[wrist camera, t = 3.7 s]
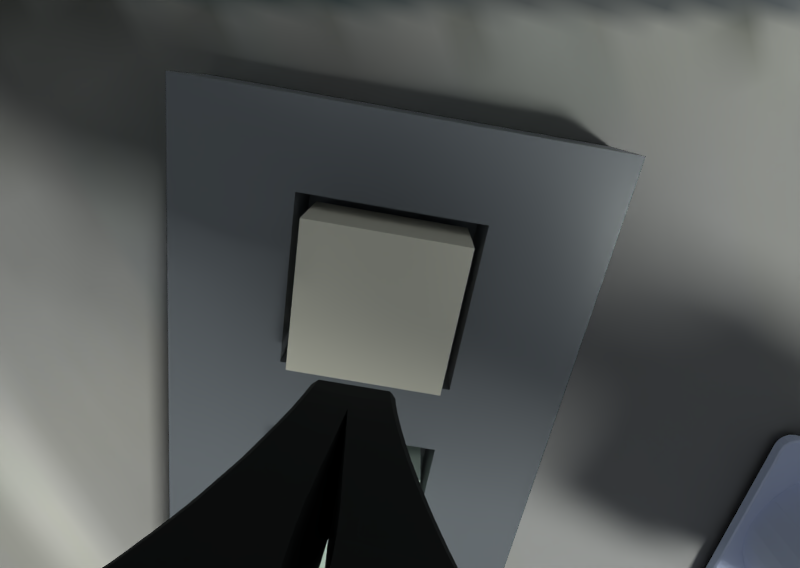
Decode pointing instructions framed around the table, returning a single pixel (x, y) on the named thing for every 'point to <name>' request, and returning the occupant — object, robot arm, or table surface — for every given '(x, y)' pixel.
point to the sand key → (376, 297)
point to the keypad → (397, 195)
